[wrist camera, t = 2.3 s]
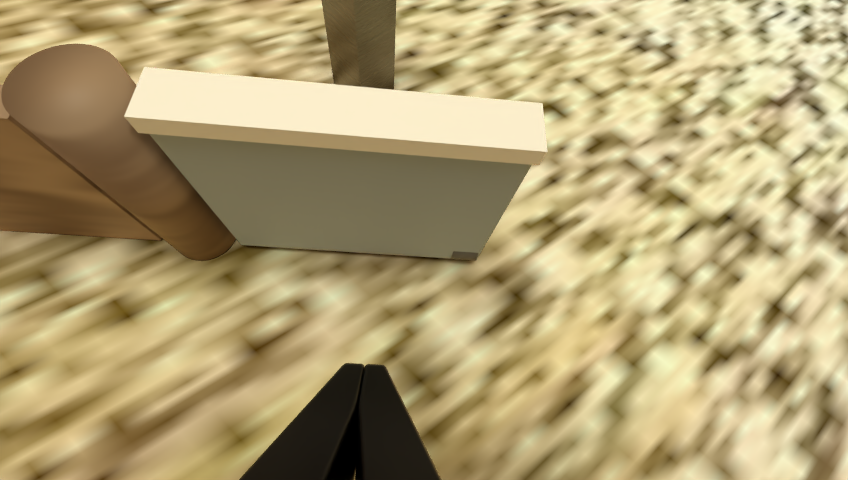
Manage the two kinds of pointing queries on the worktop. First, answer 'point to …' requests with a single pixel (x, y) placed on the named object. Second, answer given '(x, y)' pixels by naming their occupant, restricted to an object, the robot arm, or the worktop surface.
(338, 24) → the stile
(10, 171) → the fence
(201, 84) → the cream flat slab
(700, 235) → the worktop surface
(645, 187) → the worktop surface
